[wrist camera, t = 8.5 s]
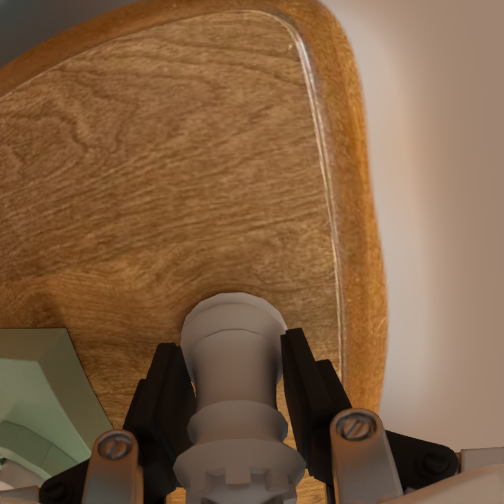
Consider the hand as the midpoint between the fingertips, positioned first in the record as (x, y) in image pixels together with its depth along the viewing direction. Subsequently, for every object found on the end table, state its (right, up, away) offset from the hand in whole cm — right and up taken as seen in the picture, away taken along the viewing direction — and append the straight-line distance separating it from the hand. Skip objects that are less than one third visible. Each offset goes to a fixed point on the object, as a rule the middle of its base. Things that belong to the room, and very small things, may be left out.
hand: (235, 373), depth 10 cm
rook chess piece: (0, +1, +3) cm, 3 cm away
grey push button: (-12, -9, 0) cm, 15 cm away
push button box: (-13, -6, +4) cm, 14 cm away
